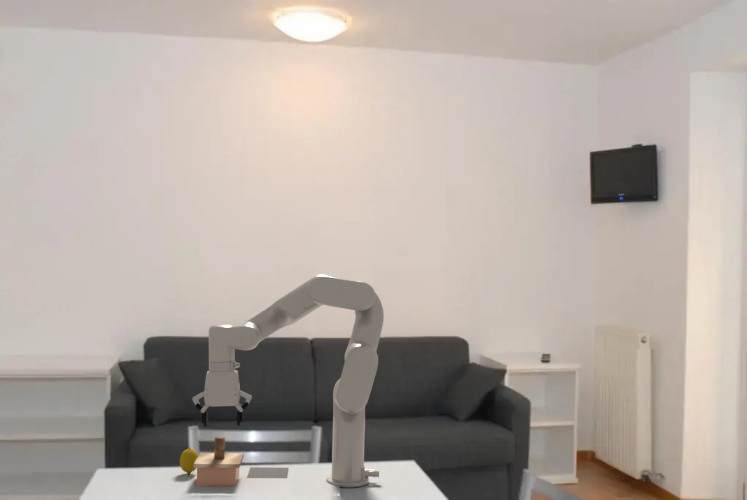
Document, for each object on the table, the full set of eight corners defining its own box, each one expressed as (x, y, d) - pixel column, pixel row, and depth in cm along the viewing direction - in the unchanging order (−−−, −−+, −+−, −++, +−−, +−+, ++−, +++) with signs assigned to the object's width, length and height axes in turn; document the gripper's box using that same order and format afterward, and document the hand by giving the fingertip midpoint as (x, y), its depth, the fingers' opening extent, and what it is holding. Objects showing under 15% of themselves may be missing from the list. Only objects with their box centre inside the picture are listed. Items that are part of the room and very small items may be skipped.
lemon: (193, 477, 239) (194, 450, 239) (176, 475, 240) (177, 449, 240) (201, 472, 244) (201, 446, 244) (184, 471, 245) (185, 445, 245)
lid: (243, 456, 241) (244, 433, 241) (239, 467, 228) (239, 443, 228) (200, 456, 240) (200, 433, 240) (193, 467, 227) (194, 442, 227)
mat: (288, 469, 250) (288, 467, 250) (287, 480, 238) (287, 478, 238) (250, 469, 249) (250, 467, 249) (246, 479, 237) (246, 477, 237)
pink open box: (239, 477, 240) (239, 457, 240) (235, 487, 229) (235, 466, 229) (202, 477, 239) (202, 457, 239) (196, 487, 228) (197, 466, 228)
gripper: (252, 364, 239) (253, 421, 238) (194, 365, 237) (194, 423, 237) (250, 368, 231) (251, 427, 231) (190, 369, 230) (190, 428, 230)
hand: (222, 425), depth 234 cm, fingers open, 9 cm apart
